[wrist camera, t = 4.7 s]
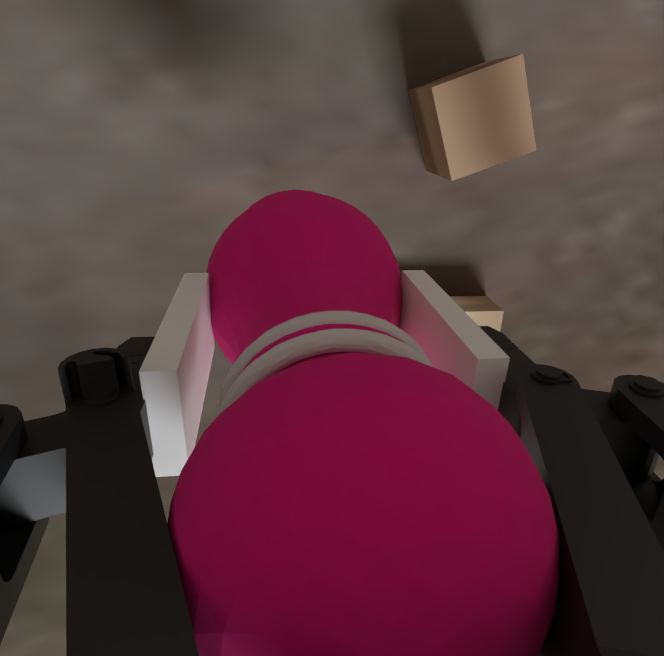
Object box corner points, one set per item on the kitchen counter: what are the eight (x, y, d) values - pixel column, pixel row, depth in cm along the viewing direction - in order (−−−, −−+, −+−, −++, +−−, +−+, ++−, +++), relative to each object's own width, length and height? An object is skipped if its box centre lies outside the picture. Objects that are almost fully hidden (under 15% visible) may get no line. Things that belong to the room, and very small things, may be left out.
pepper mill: (405, 234, 22) (1000, 763, 4) (319, 356, 24) (483, 1066, 6) (268, 142, 20) (324, 460, 2) (186, 285, 22) (-157, 1090, 4)
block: (426, 170, 32) (451, 180, 28) (407, 90, 30) (431, 87, 26) (498, 144, 32) (536, 150, 28) (484, 61, 30) (522, 53, 25)
